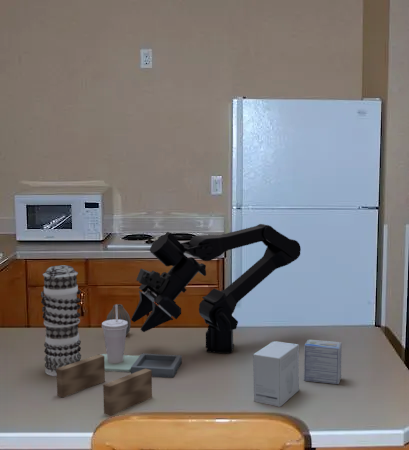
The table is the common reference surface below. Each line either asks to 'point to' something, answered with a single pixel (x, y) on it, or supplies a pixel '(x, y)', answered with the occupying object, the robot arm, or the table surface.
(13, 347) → the table surface
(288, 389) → the skincare box
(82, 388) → the lane
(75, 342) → the decorative candle
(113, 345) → the smoothie
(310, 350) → the medicine box
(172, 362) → the tray
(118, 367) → the mat
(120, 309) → the vase
